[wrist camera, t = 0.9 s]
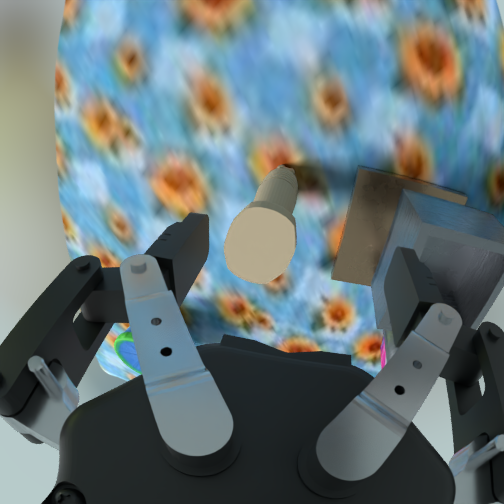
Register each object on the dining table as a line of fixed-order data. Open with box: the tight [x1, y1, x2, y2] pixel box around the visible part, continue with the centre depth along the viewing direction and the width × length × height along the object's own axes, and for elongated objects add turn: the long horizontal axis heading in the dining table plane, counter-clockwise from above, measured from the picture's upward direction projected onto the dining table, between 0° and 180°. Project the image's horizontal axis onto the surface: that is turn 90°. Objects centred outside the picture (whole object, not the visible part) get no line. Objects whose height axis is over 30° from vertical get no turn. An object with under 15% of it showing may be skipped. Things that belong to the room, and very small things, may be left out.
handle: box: [224, 165, 298, 284], centre depth 28 cm, size 5×6×15 cm
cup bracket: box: [331, 166, 504, 362], centre depth 27 cm, size 17×14×18 cm
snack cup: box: [114, 326, 142, 374], centre depth 48 cm, size 16×10×10 cm
